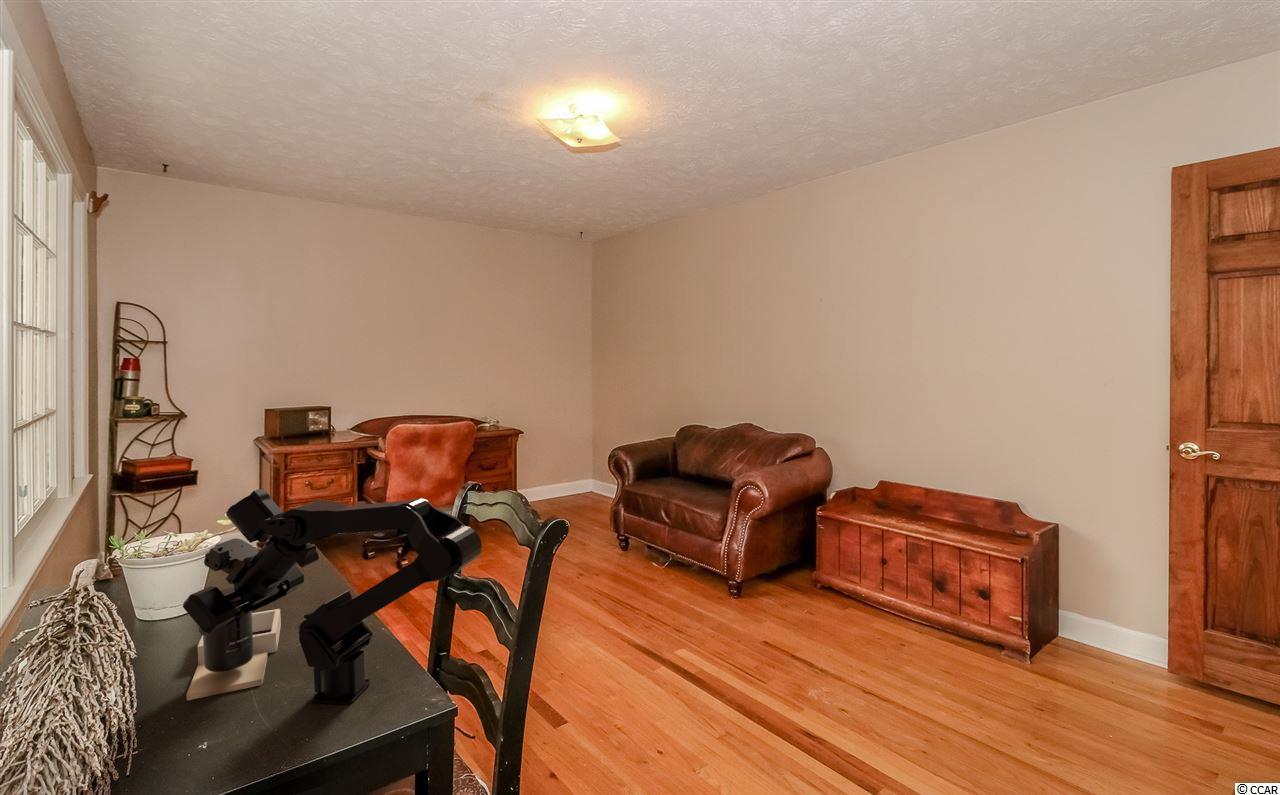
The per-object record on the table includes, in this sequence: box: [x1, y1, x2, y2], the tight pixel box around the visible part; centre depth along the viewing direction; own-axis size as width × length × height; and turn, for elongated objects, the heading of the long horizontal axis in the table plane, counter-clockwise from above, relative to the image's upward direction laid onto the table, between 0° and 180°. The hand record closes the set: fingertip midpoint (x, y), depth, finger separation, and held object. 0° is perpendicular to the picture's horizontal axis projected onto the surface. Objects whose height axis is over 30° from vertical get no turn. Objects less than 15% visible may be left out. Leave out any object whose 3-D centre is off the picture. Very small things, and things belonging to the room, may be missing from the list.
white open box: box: [197, 608, 282, 666], centre depth 114 cm, size 12×12×4 cm
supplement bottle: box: [203, 586, 254, 672], centre depth 102 cm, size 7×7×12 cm
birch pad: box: [186, 652, 268, 701], centre depth 102 cm, size 10×10×1 cm
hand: (220, 623), depth 102 cm, fingers closed on supplement bottle, 7 cm apart
